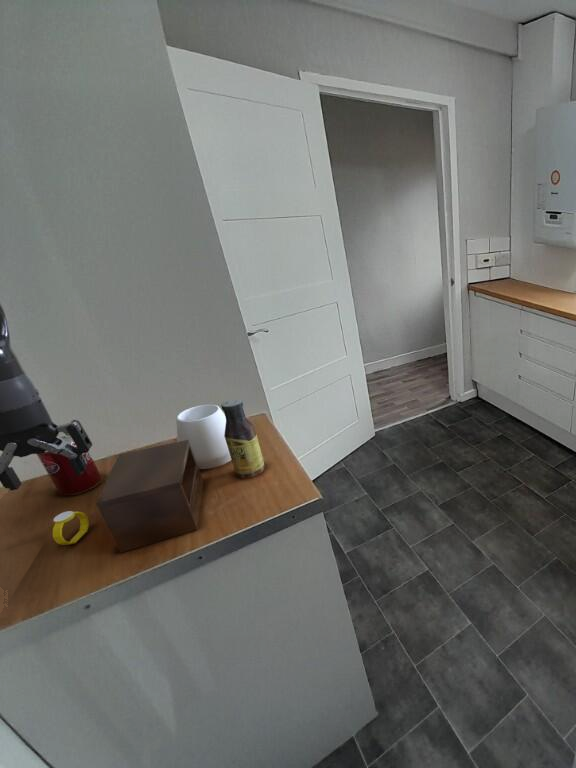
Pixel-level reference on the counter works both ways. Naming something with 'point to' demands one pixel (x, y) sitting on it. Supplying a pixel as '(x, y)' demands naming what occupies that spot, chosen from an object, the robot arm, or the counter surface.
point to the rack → (152, 495)
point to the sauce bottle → (242, 440)
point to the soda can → (70, 472)
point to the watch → (67, 517)
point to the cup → (204, 435)
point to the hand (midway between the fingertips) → (49, 480)
